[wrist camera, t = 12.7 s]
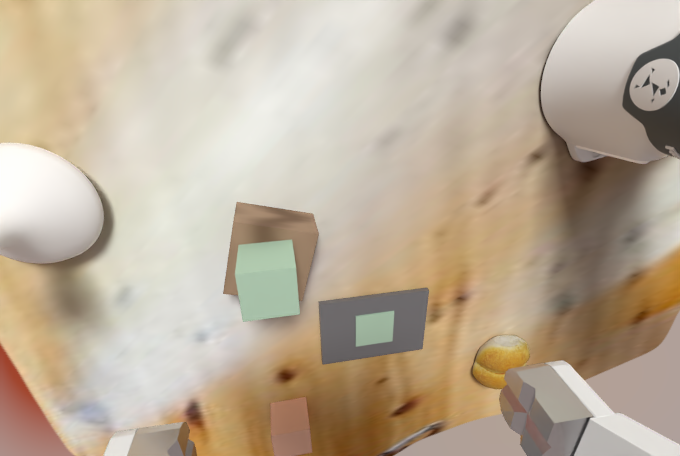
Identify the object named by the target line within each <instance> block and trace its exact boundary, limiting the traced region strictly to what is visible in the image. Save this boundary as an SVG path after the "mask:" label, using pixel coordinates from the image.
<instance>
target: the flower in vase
mask: <svg viewBox="0 0 680 456" xmlns="http://www.w3.org/2000/svg"><path fill="white" fill-rule="evenodd" d="M103 222H104V212H103V206H102V203H101V200H100V197H99V195H98V193H97V191H96V189H95V188H94V186H93V185H92V183H91V182H90V181H89V179H88V178H87V177H86V176H85V175H84V174H83V173H82V172H81V171H80V170H79V169H78V168H77V167H75V166H74V165H73V164H71V163H70V162H69V161H67V160H65V159H64V158H62V157H61V156H59V155H57V154H54V153H52V152H50V151H48V150H45V149H42V148H39V147H36V146H32V145H27V144H21V143H0V255H2V256H5V257H8V258H10V259H14V260H18V261H22V262H27V263H55V262H59V261H64V260H67V259H70V258H73V257H75V256H77V255H79V254H82V253H83V252H85V251H86V250H88V249H89V248H90V247H91V246H92V245H93V244H94V243H95V241H96V240H97V239H98V237H99V235H100V233H101V230H102V227H103Z"/></svg>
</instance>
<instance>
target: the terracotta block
mask: <svg viewBox="0 0 680 456" xmlns="http://www.w3.org/2000/svg"><path fill="white" fill-rule="evenodd" d="M270 405H271V439H272V444H273V450H274V456H297V455H302V454H307V453H312V445H311V435H310V426H309V417H308V408H307V400H306V397H302V398H296V399H291V400H285V401H279V402H274V403H270Z"/></svg>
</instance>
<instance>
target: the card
mask: <svg viewBox="0 0 680 456" xmlns="http://www.w3.org/2000/svg"><path fill="white" fill-rule="evenodd" d="M428 294H429V290H428V288H421V289H413V290H405V291H398V292H390V293H382V294H374V295H367V296H359V297H351V298H343V299H336V300H328V301H320V302H319V316H320V334H321V352H322V364H329V363H336V362H342V361H349V360H355V359H361V358H368V357H374V356H381V355H387V354H394V353H400V352H406V351H413V350H419V349H422V348H423V339H424V330H425V321H426V312H427V303H428Z"/></svg>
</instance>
